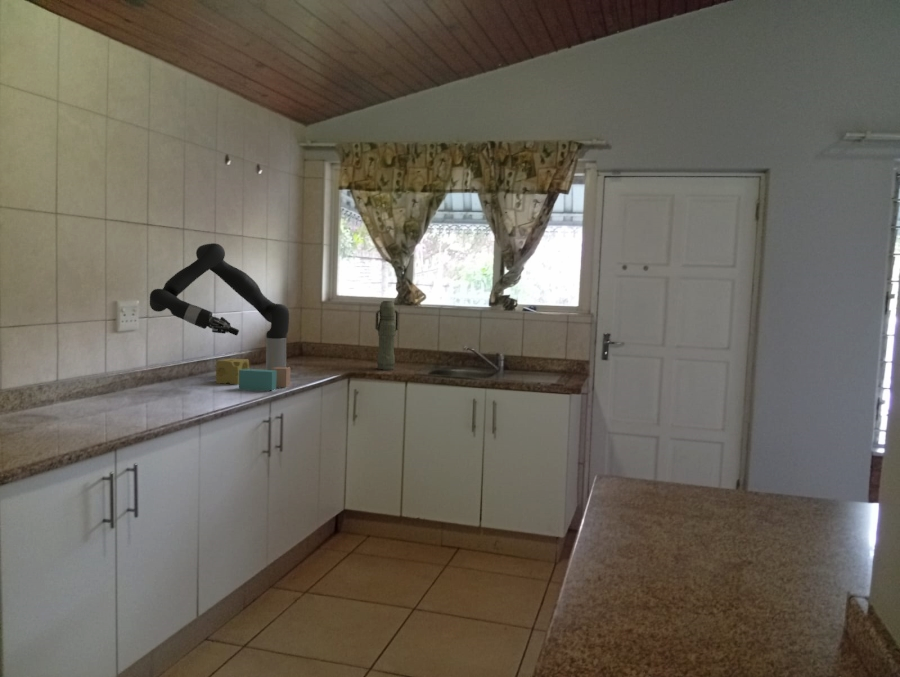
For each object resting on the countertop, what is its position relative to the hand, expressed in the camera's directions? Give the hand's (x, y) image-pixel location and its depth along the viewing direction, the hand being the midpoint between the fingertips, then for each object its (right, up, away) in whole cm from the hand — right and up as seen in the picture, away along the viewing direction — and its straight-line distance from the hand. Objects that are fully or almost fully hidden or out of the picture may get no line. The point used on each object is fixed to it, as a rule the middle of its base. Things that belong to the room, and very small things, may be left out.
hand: (238, 332), depth 297 cm
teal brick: (+10, -23, -5) cm, 26 cm away
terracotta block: (+17, -23, +5) cm, 29 cm away
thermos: (+55, -18, +72) cm, 93 cm away
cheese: (-6, -22, +11) cm, 25 cm away
